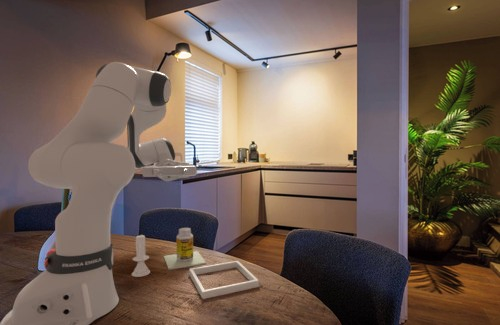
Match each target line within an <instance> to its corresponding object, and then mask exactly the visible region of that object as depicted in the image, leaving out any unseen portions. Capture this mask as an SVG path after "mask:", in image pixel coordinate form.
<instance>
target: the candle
mask: <svg viewBox="0 0 500 325" xmlns="http://www.w3.org/2000/svg"><path fill="white" fill-rule="evenodd" d="M135 247H136V250H135V251H136V255H135V256H134V257H132V261H134V262H137V263H136V266H135V268H134V269H133V272H132V273H131V276H132V277H135V278H139V277H140V278H141V277H145V276H148V275H149V274H150V273H151V270H150V269H149V267H148V266H147V265H146V263H145V261H147V260H148V259H149V258H150V255H146V236H145V235H143V234H140V235H137V236H136V237H135Z"/></svg>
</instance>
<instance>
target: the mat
mask: <svg viewBox="0 0 500 325" xmlns="http://www.w3.org/2000/svg"><path fill="white" fill-rule="evenodd" d="M163 259H164V262H165V264H166V266H167V270H168V271H171V270H177V269H182V268H188V267H189V268H190V267H195V266H201V265H206V264H207V262H206V260H205V259H204V258H203V256H202V255H201V254H200V252H199V250H196V251H195V250H193V258H192V259H191V260H188V261H179V260H177V253H173V254H167V255H163Z"/></svg>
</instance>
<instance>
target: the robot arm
mask: <svg viewBox="0 0 500 325" xmlns="http://www.w3.org/2000/svg"><path fill="white" fill-rule="evenodd" d="M171 95H172V85H171V80H170V79H169V77H168V76H167V75H166V74H165V73H162V72H160V71H157V70H156V71H152V70H149V69H145V68H141V67H137V66H134V65H128V64H127V63H123V62H120V61H119V62H118V61H113V62H110V63H107V64H103V65H101V66H100V67H99V68H98V70H97V72H96V74H95V79H94V80H93V82H92V84H91V85H90V87H89V89H88V91H87V93H86V96H85V97H84V99H83V101H82V103H81V105H80V107H79V108H78V111H77V112H76V114H75V115H74V116H73V118H71V120H70V121H69V122H68V123H67V124H66V125H65V126H64V127H63V128H62V129H61V130H60V132H59V133H57V135H55V136H54V137H53V138H52V139H51V140H50V141H49V142H47V143H46V144H44V145H42V146H41V147H38V148H37V149H35V150H34V151H33V153H32V154H30V156H29V159H28V164H27V168H28V172H29V175H30V176H31V178H32V179H33V180H34V181H35V182H37V183H39V184H41V185H43V186H46V187H51V188H54V189H63V190H64V189H65V190H66V189H67V190H72V191H71V197H70V200H69V202H68V205H67V206H66V208H65V209H63V210H61V211H60V212H59V213H58V214H57V216H56V218H55V220H54V226H55V227H54V228H55V229H54V232H55V234H54V235H55V236H54V238H55V248H51V249H49V251H48V252H46V257H45V258H44V262H43V263H44V264H43V265H44V268H45V269H44V270H43V271H42V272H40V274H39V275H37V276H36V277H34V278H33V279H32V280H31V281H29V282H28V283H27V284H26V285H25V286H24V287H23V288H22V289H21V290H20V291H19V293H18V294H17V295H16V298H15V300H14V303H13V307H12V309H11V310H10V311H9V312H8V313H7V314H5V316H4V317H3V318H2V320H1V321H0V325H90V324H91V323H93V322H94V321H96V320H98V319H99V318H101V317H103V316H105V315H106V314H108V313H109V312H111V311H112V310H113V309H114V308H116V307H117V305H118V303H119V301H120V298H119V296H118V292H117V288H116V286H115V281H114V276H113V267H114V249H113V243H111V219H112V210H113V207H114V204H115V202H116V199H117V197H118V195H119V193H120V192H121V191H122V189H123V188H125V187H126V186H127V185H129V183H130V182H131V181H132V179H133V178H134V176H135V173H136V169H141V170H140V173H142V177H144V178H150V177H151V178H152V177H154V178H155V177H157V178H159V179H161V180H162V181H164V182H173V181H175V180H176V181H177V180H179V179H188V178H190V177H194V176H197V165H194V164H192V163H191V164H190V162H188V161H187V162H186V161H177V160H175V159H176V153H175V148H174V147H173V145H172V143H171V142H170V140H168V139H166V138H165V137H161V138H155V139H152V140H150V141H149V140H148V141H145V142H141V143H140V136H141V135H142V134H143V132H145V131H148V129H150V128H153V127H154V126H156V125H158V124H160V123H161V122H162V121H163V120H164V118H165V117H166V115H167V103H168V102H169V100H170V98H171ZM125 130H127V131H126V133H127V134H126V135H127V147H126V146H125V145H124V146H123V145H121V144H117V143H112V142H113V141H114V140H117V139H118V138H119V137H120V136H121V135H122V134H123V133H124V131H125ZM153 164H154V166H152V165H153ZM150 165H151V166H150Z"/></svg>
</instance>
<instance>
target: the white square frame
mask: <svg viewBox="0 0 500 325" xmlns="http://www.w3.org/2000/svg"><path fill="white" fill-rule="evenodd" d="M234 268H235V269H237V270H238V271H239V272H240V273H241V274H242V275H243V276H244V277H245V278H246V279H247V281H243V282H238V283H232V284H228V285H224V286H217V287H213V288H207V289H205V288H204V287H203V284H202V283H201V281H200V279H199V278H198V276H197V275H201V274H202V275H203V274H207V273H213V272H218V271H224V270H225V271H226V270H229V269H234ZM188 272H189V274H188V275H189V277H190V278H191V280H192V283H193V284H194V286H195V287H196V290H197V292H198V293H199V295H200V297H201V299H202V300H205V299H210V298H214V297H220V296H223V295H229V294H232V293H237V292H241V291H246V290H247V291H248V290H250V289H255V288H259V286H260V285H259V284H260V280H259V279H258V278H257V277H256V276H255V274H252V273H251V271H249V270H248V268H246V267H245V266H244V264H242V263H241V262H240V261H239V260H235V261H228V262H222V263H217V264H211V265H204V266H200V267H193V268H189V270H188Z"/></svg>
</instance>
